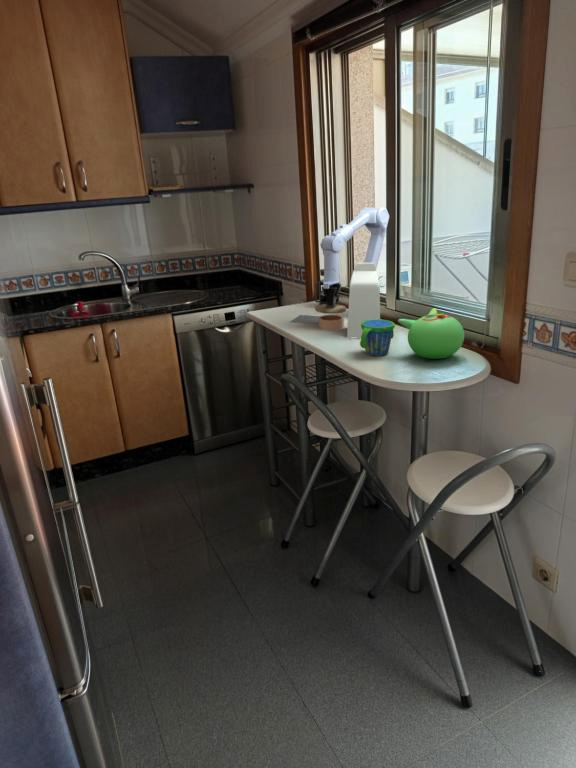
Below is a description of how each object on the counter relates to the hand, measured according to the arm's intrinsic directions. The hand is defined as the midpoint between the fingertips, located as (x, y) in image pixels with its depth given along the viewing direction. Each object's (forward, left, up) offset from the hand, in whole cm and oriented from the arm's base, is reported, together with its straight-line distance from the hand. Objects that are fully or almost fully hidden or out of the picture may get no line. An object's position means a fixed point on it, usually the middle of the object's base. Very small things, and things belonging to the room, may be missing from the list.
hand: (331, 304), depth 208 cm
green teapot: (-42, +27, -10) cm, 51 cm away
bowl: (0, 0, -9) cm, 9 cm away
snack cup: (-24, +28, -10) cm, 38 cm away
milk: (-14, +5, -10) cm, 18 cm away
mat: (+12, -9, -9) cm, 18 cm away
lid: (0, 0, -2) cm, 2 cm away
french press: (+12, -35, -10) cm, 38 cm away
